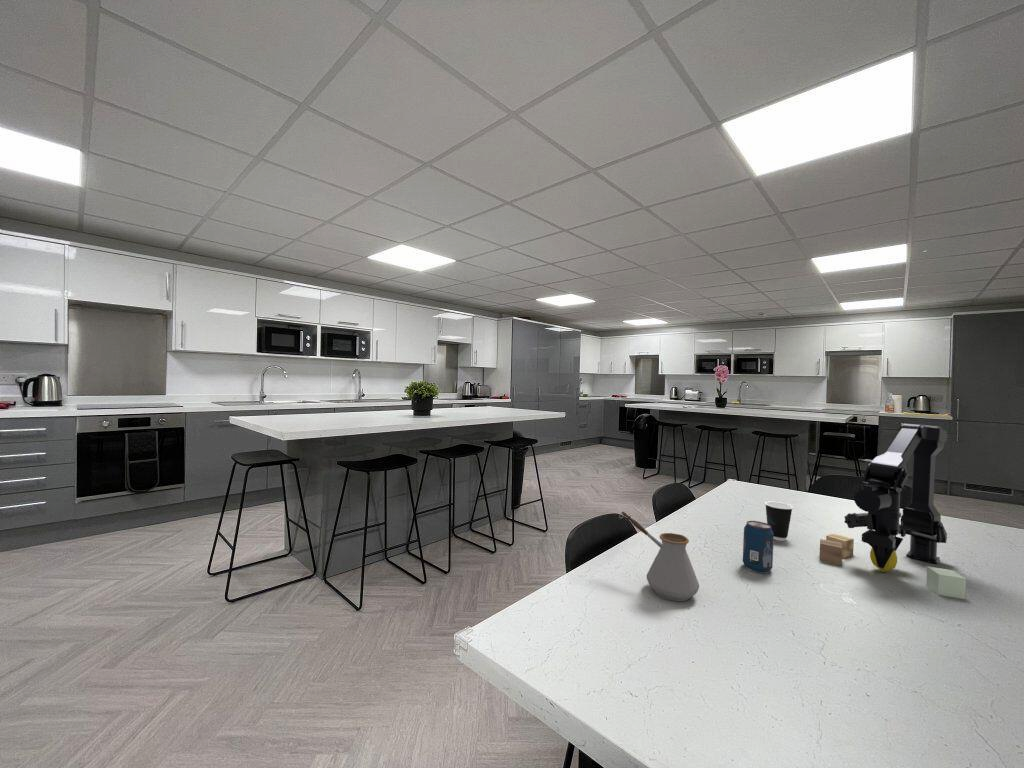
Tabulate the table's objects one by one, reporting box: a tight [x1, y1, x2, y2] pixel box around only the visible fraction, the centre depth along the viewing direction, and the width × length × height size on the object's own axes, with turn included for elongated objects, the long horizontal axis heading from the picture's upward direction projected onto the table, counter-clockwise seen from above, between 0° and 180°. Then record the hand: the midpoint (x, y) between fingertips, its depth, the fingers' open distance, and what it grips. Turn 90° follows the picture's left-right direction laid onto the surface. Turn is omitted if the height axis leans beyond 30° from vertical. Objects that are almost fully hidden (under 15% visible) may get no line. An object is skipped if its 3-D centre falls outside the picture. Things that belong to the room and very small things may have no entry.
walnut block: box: [819, 538, 843, 566], centre depth 120 cm, size 5×5×5 cm
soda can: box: [742, 520, 774, 574], centre depth 113 cm, size 7×7×12 cm
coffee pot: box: [618, 511, 700, 602], centre depth 101 cm, size 21×12×15 cm, turn 37°
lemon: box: [869, 547, 898, 573], centre depth 114 cm, size 6×6×8 cm
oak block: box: [825, 533, 855, 559], centre depth 126 cm, size 5×5×5 cm
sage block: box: [925, 566, 967, 600], centre depth 103 cm, size 5×5×5 cm
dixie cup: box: [764, 500, 794, 542], centre depth 137 cm, size 8×8×11 cm
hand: (883, 565), depth 114 cm, fingers closed on lemon, 5 cm apart
